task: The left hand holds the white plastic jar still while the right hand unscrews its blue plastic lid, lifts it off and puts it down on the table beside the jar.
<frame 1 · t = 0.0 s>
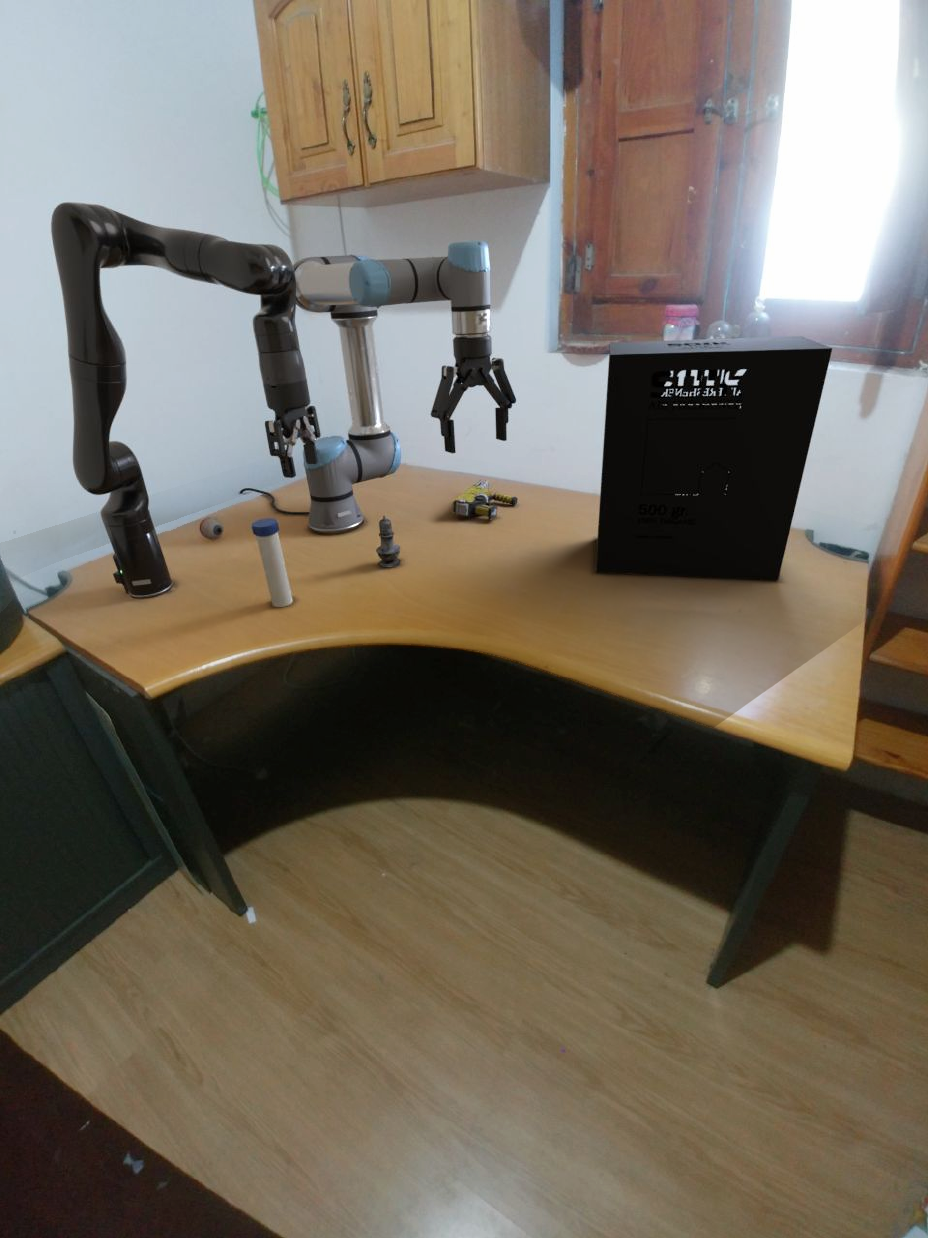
left hand: (301, 470, 113), 29 cm above the table, tool pointing down, fingers open, 8 cm apart
right hand: (476, 445, 127), 28 cm above the table, tool pointing down, fingers open, 13 cm apart
grey upright turned piece: (390, 563, 145), on the table
eyeball: (214, 539, 165), on the table
lid: (264, 524, 121), point 18 cm above the table, screwed on, not yet turned
toy gun: (489, 507, 176), on the table
jar: (282, 602, 130), on the table
cardboard box: (679, 557, 140), on the table
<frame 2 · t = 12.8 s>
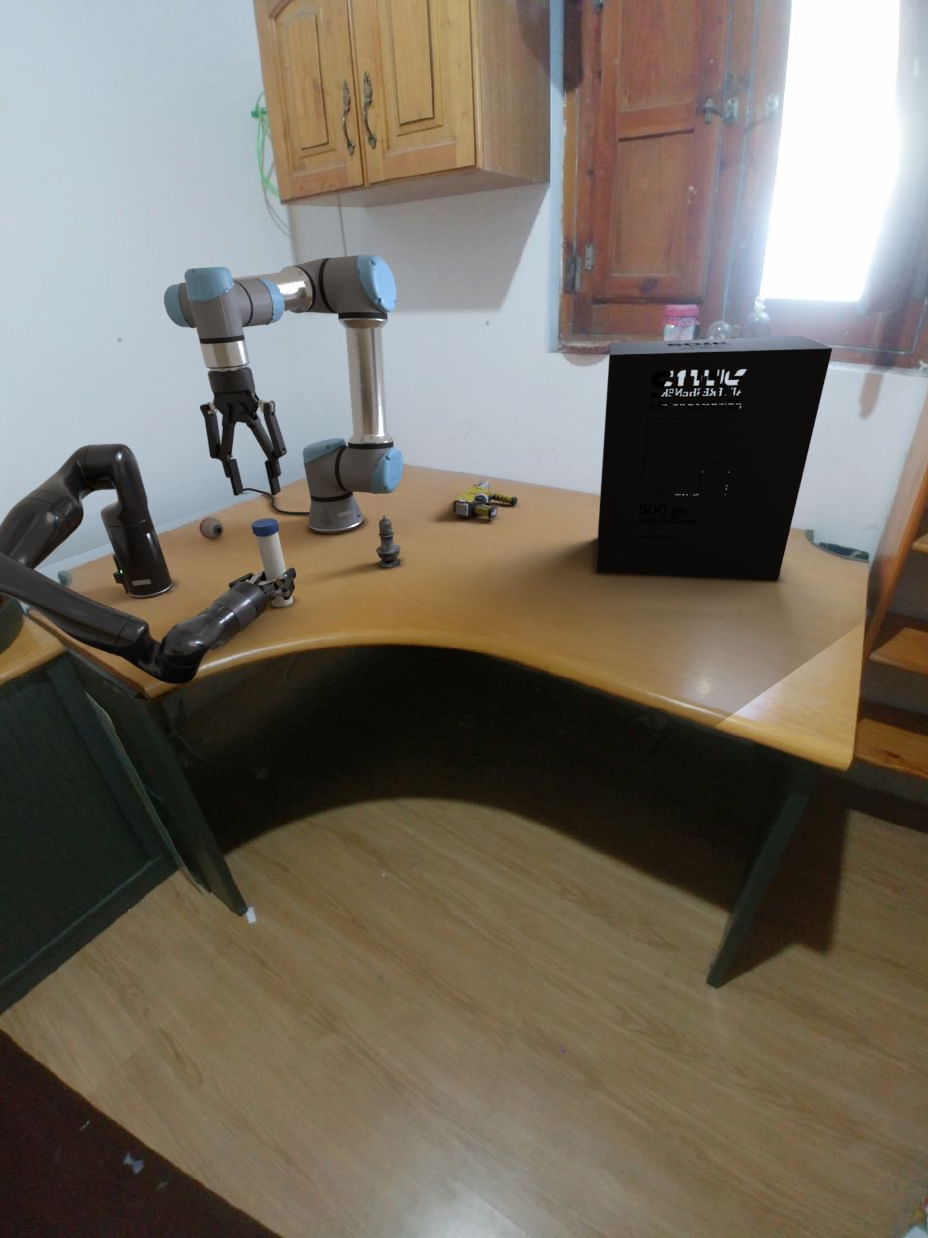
left hand: (283, 570, 130), 6 cm above the table, tool horizontal, fingers closed on jar, 4 cm apart
right hand: (257, 493, 118), 24 cm above the table, tool pointing down, fingers open, 7 cm apart
jar: (282, 602, 130), on the table, touching left hand
everything else where it was.
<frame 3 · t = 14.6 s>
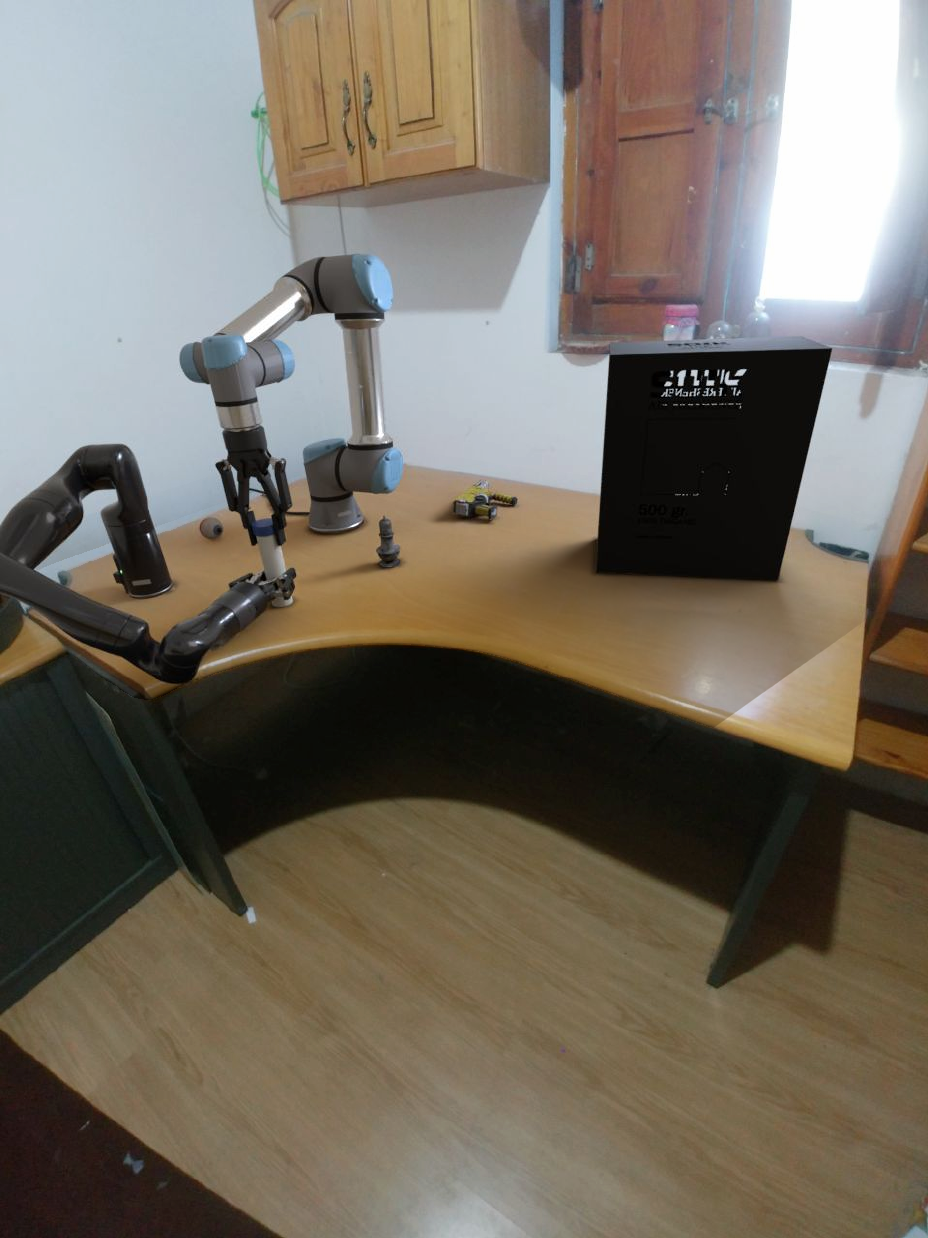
left hand: (283, 570, 129), 6 cm above the table, tool horizontal, fingers closed on jar, 4 cm apart
right hand: (269, 542, 123), 14 cm above the table, tool pointing down, fingers closed on lid, 5 cm apart
lid: (264, 524, 121), point 18 cm above the table, screwed on, not yet turned, touching right hand
jar: (282, 602, 130), on the table, touching left hand
everything else where it was.
when the right hand's fingers open (14 cm above the table, at t = 16.0 s): lid stays where it is, point 18 cm above the table.
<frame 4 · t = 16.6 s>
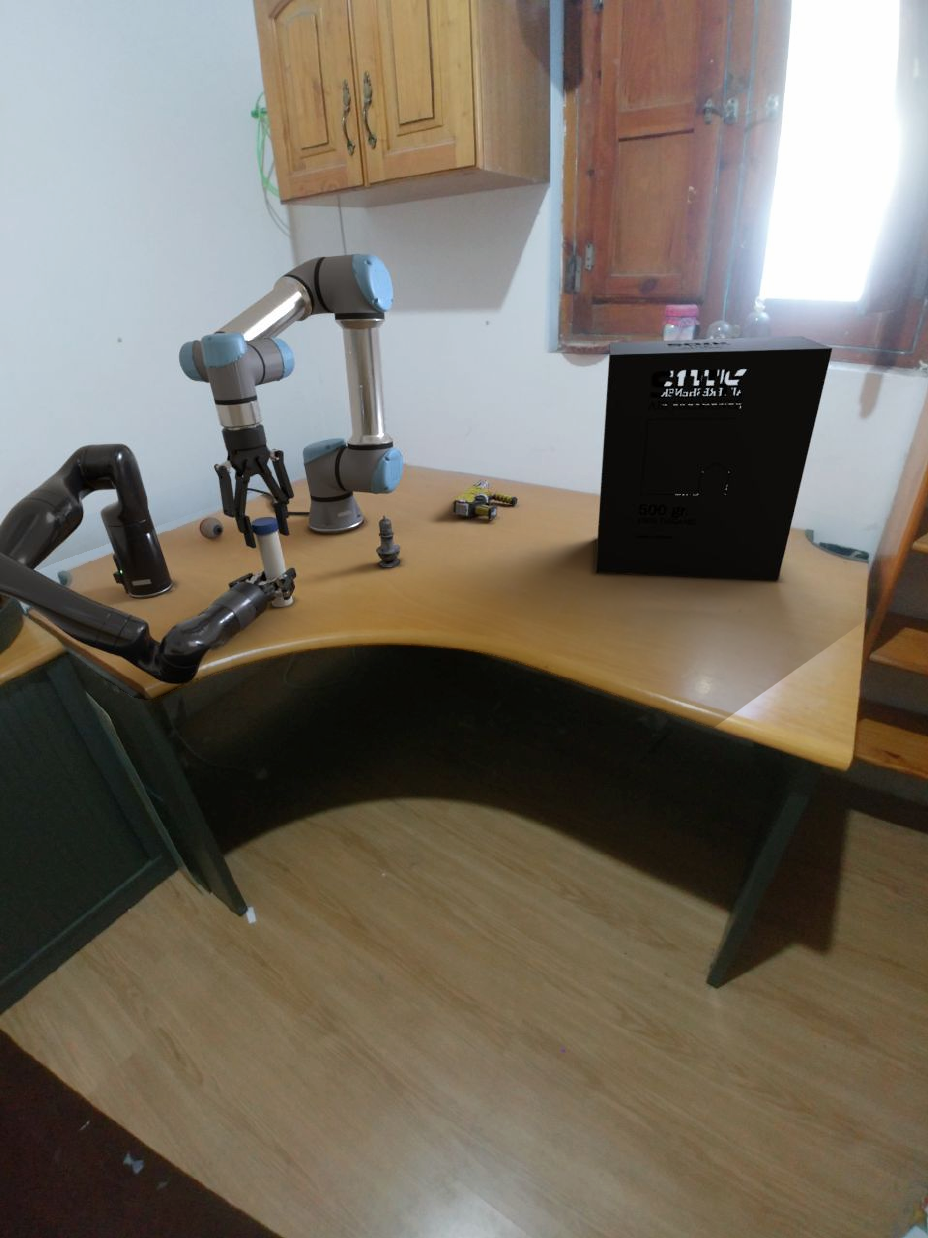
left hand: (283, 570, 129), 6 cm above the table, tool horizontal, fingers closed on jar, 4 cm apart
right hand: (268, 540, 123), 15 cm above the table, tool pointing down, fingers open, 7 cm apart
lid: (264, 522, 121), point 18 cm above the table, turned 104° so far, risen 0.3 cm, still on its thread
jar: (282, 602, 130), on the table, touching left hand
everything else where it was.
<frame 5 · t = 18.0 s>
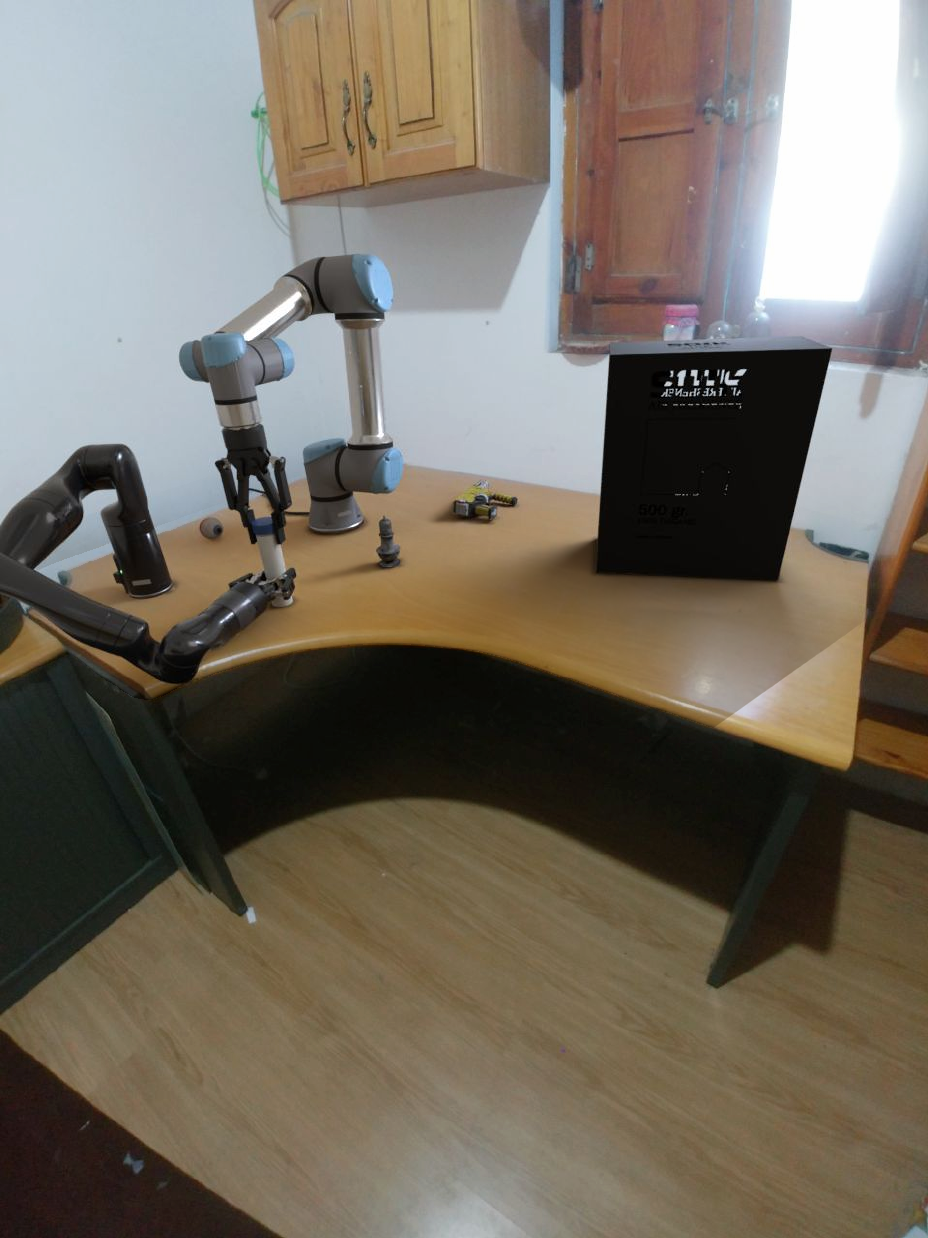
left hand: (283, 570, 129), 6 cm above the table, tool horizontal, fingers closed on jar, 4 cm apart
right hand: (268, 541, 123), 14 cm above the table, tool pointing down, fingers closed on lid, 5 cm apart
lid: (264, 522, 121), point 18 cm above the table, turned 103° so far, risen 0.3 cm, still on its thread, touching right hand
jar: (282, 602, 130), on the table, touching left hand
everything else where it was.
when the right hand's fingers open (0 cm above the table, at t = 24.6 s): lid stays where it is, point 2 cm above the table.
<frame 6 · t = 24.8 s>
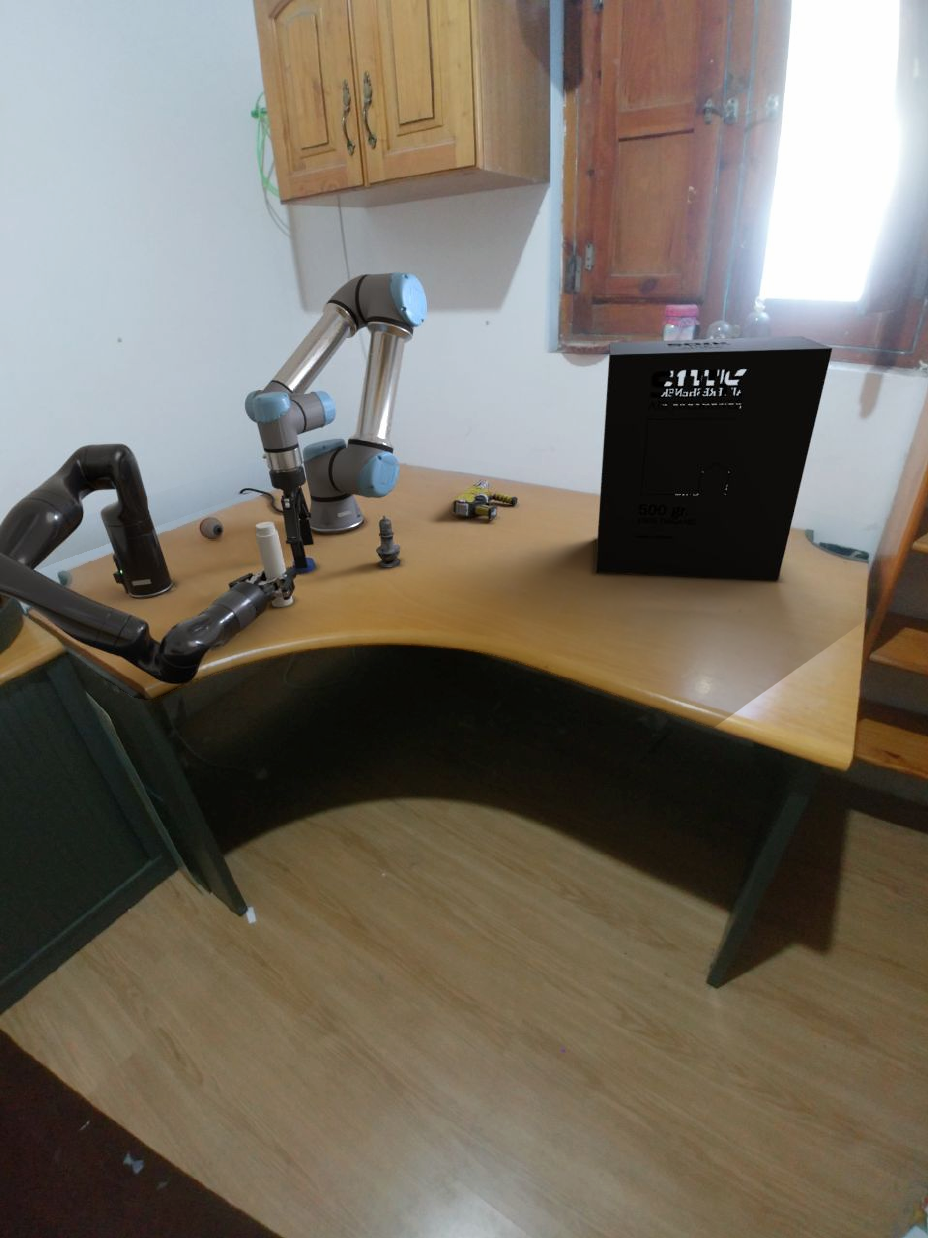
left hand: (283, 570, 129), 6 cm above the table, tool horizontal, fingers closed on jar, 4 cm apart
right hand: (305, 555, 144), 3 cm above the table, tool pointing down, fingers open, 12 cm apart
lid: (303, 562, 144), point 2 cm above the table, off its thread
jar: (282, 602, 130), on the table, touching left hand
everything else where it was.
when the left hand's fingers open (6 cm above the table, at t = 25.2 s): jar stays where it is, on the table.
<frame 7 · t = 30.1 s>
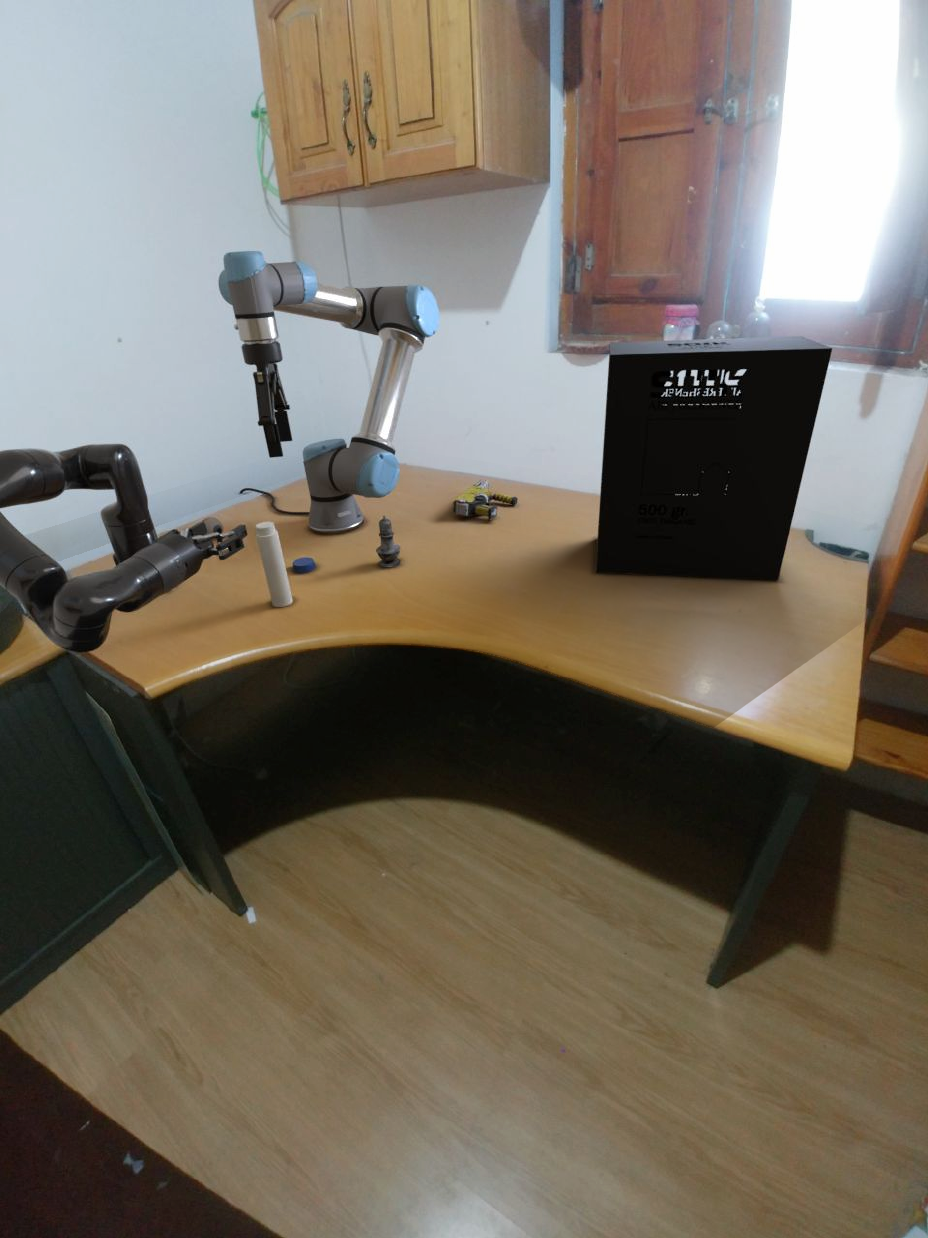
left hand: (224, 528, 110), 22 cm above the table, tool horizontal, fingers open, 8 cm apart
right hand: (281, 448, 131), 29 cm above the table, tool pointing down, fingers open, 13 cm apart
jar: (282, 602, 130), on the table
everything else where it was.
at the end: lid came off its thread; lid point 1.6 cm above the table; the left hand is holding nothing; the right hand is holding nothing; jar tilted 0°; jar moved 0.0 cm from its start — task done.
